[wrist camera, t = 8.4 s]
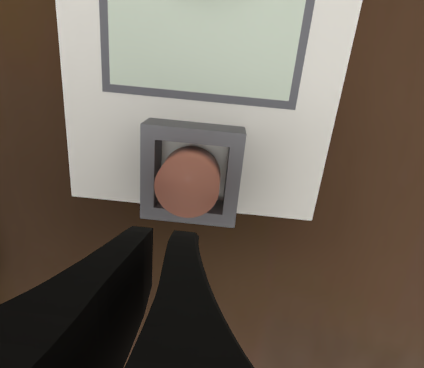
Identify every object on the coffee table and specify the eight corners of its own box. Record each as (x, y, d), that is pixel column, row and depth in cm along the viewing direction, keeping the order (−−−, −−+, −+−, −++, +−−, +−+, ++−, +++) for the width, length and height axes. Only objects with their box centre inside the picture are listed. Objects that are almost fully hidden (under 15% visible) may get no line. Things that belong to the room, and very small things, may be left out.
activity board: (77, 190, 19) (55, 209, 17) (46, -226, 12) (2, -295, 10) (308, 214, 19) (320, 237, 16) (400, -198, 12) (443, -262, 10)
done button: (161, 197, 17) (153, 214, 15) (163, 143, 16) (154, 153, 14) (217, 203, 17) (216, 220, 15) (223, 148, 16) (222, 160, 14)
